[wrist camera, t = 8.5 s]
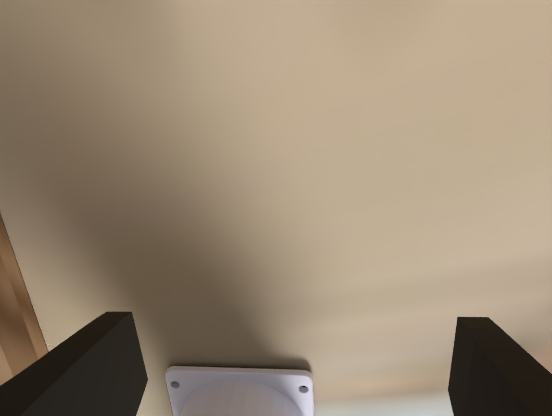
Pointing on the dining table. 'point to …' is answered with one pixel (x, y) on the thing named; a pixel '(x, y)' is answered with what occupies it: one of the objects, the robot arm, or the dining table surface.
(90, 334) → the robot arm
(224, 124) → the dining table surface
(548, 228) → the dining table surface
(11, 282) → the frame
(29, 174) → the dining table surface
